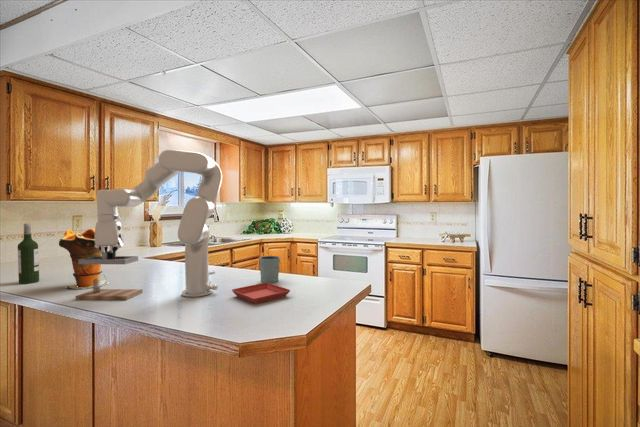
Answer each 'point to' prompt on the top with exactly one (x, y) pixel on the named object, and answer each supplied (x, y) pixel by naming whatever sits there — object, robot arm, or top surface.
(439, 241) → the top surface
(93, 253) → the decorative vase
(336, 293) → the top surface
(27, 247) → the wine bottle
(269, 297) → the plant saucer
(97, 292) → the keeper
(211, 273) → the adjustable wrench
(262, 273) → the grey green bin
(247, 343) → the top surface
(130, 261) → the grey rectangular tray
